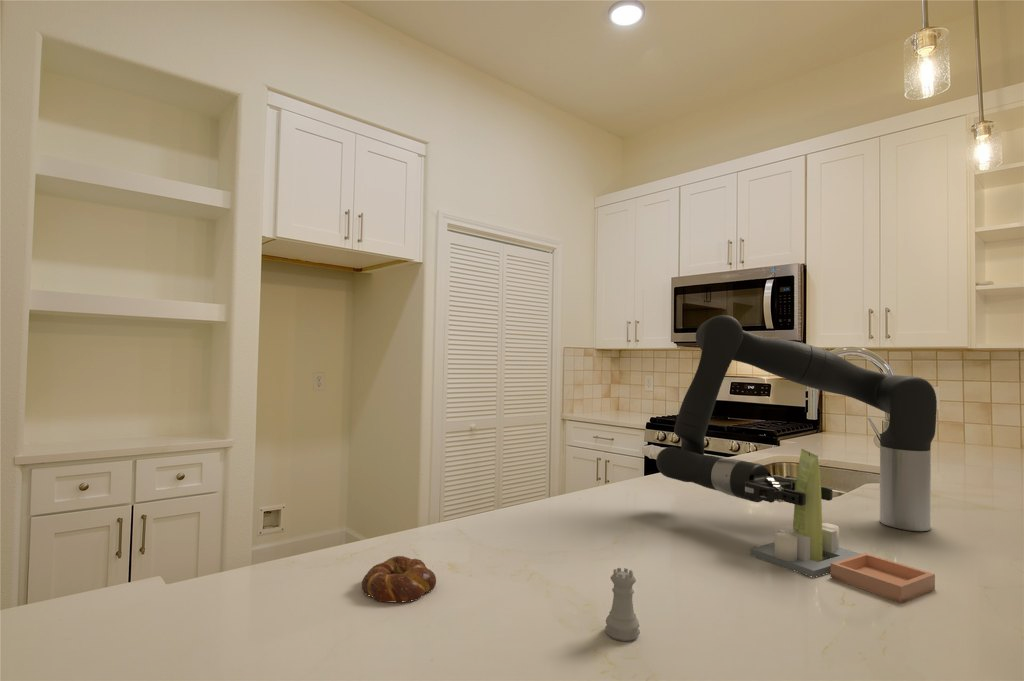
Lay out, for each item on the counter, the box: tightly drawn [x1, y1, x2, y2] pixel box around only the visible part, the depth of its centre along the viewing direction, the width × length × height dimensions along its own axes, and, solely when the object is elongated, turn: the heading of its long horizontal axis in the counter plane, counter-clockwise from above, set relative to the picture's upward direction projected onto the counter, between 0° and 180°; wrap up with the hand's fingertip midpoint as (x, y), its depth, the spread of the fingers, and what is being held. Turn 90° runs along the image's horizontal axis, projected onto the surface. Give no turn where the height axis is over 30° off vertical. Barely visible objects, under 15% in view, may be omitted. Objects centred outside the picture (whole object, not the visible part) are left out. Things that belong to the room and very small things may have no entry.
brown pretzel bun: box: [361, 555, 437, 603], centre depth 84 cm, size 12×11×4 cm
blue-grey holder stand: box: [749, 522, 861, 578], centre depth 101 cm, size 17×12×5 cm
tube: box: [792, 447, 823, 562], centre depth 101 cm, size 6×5×20 cm
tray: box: [830, 552, 936, 604], centre depth 90 cm, size 11×11×2 cm
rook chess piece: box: [604, 567, 641, 642], centre depth 72 cm, size 4×4×8 cm
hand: (818, 497), depth 99 cm, fingers open, 8 cm apart
